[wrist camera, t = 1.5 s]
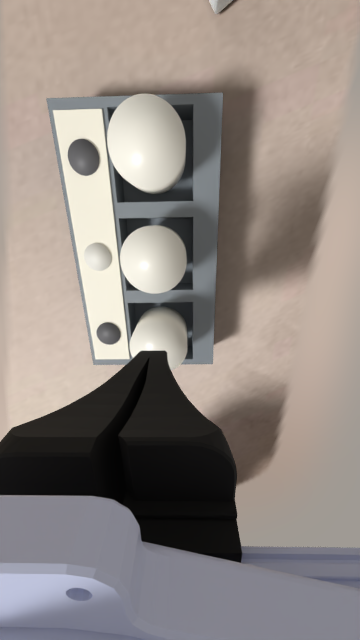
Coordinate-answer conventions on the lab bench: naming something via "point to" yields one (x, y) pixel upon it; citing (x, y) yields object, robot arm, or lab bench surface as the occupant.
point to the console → (139, 221)
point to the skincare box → (219, 5)
